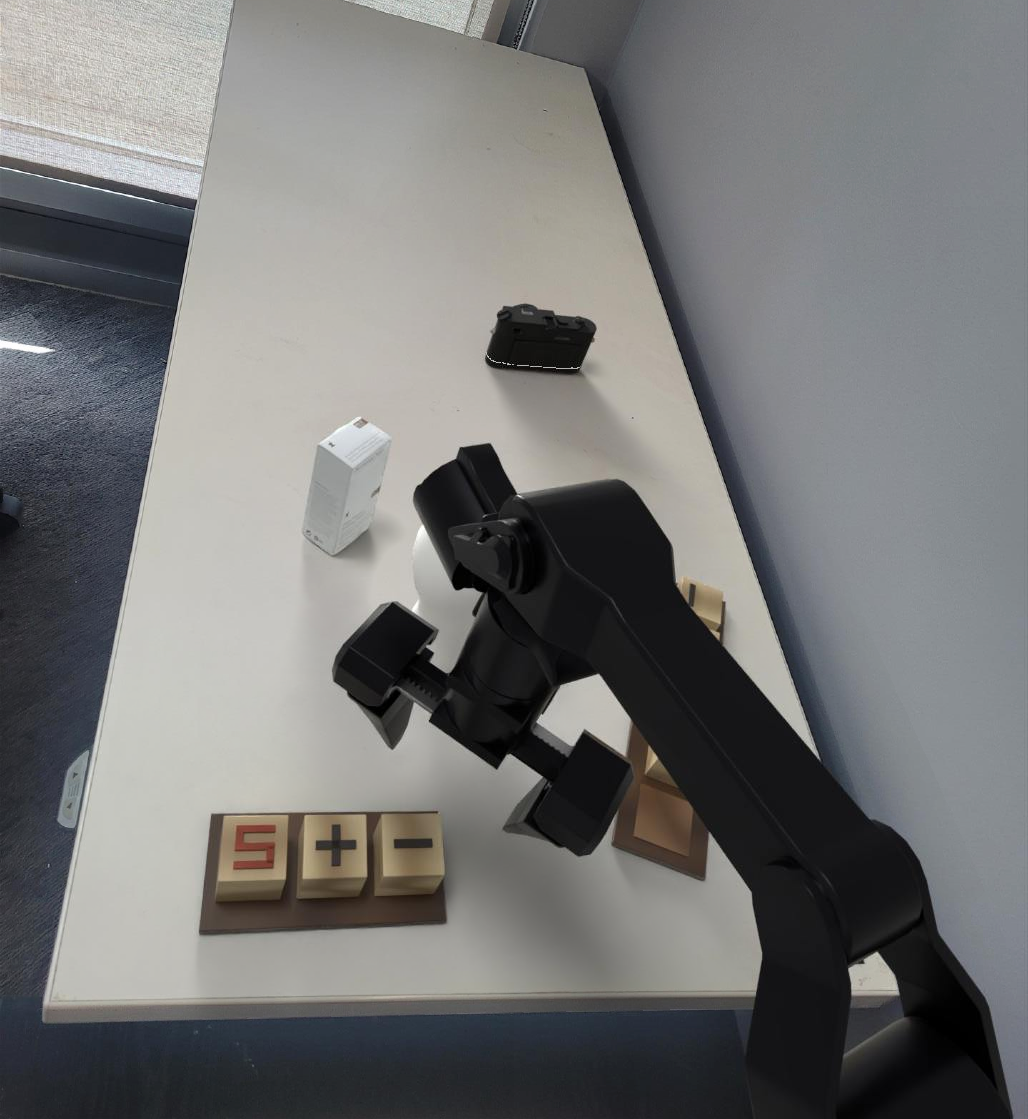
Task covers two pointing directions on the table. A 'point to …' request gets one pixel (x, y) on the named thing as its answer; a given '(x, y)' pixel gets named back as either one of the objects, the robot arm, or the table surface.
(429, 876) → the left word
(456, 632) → the cup
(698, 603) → the letter block display
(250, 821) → the letter s tile
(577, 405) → the table surface
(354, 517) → the cosmetic box
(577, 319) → the camera
